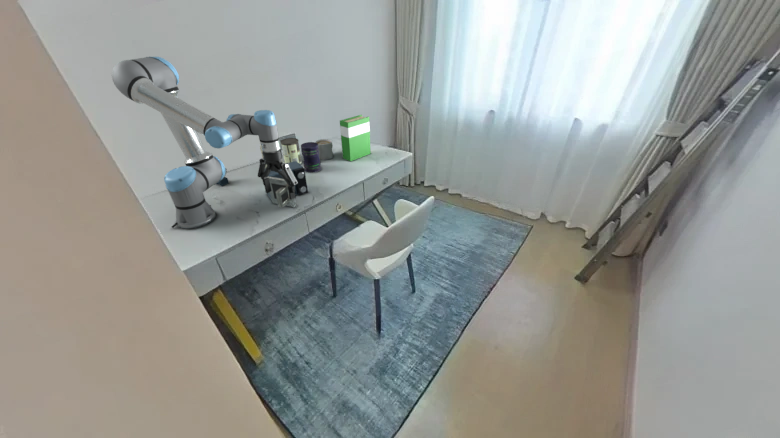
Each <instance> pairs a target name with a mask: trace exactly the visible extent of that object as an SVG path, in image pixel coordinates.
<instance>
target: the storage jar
mask: <svg viewBox="0 0 780 438" xmlns="http://www.w3.org/2000/svg"><path fill="white" fill-rule="evenodd" d="M315 142H316V141H315ZM315 142H313V141H309V142H304V143H302V144H300V152H301V155H302V159H303V161H302V163H303V168H304V170H305V173H310V174H311V173H318V172H320V171H321V170H322V166H321V159H319V148H318V144H317V143H315Z"/></svg>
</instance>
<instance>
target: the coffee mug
mask: <svg viewBox="0 0 780 438" xmlns="http://www.w3.org/2000/svg"><path fill="white" fill-rule="evenodd" d="M315 143H317V144H318V148H319V159H320V161H327V160H331V159H333V157H334V155H333V142H332V140H331V139H329V138H327V139H326V138H321V139H318V140H316V141H315Z"/></svg>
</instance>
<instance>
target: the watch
mask: <svg viewBox="0 0 780 438" xmlns="http://www.w3.org/2000/svg"><path fill="white" fill-rule="evenodd" d="M227 173H228V171H227V167H225V176H224V178H223V179H222V180H220V182H219V183H217V184H216V185H218V186H220V187H224V186H225V185H228V184H230V182H229V178H228V177H227Z"/></svg>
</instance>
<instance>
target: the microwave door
mask: <svg viewBox="0 0 780 438" xmlns="http://www.w3.org/2000/svg"><path fill="white" fill-rule="evenodd" d="M267 178H269V181H270V186H271V190H272V191H270V195H271V199H270V201H271V203H272V204H274V205H275V204H276V205H278V208H279V209H283V208H284V207H290V208H296V207H297V202H296V197H295V198H294V199H292V200H290V197H289V191H288V186H289V185H288V184H287V182H286V181H285V180H284V179H281V178H275V177H269V176H268V177H267ZM290 183H291V182H290Z"/></svg>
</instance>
